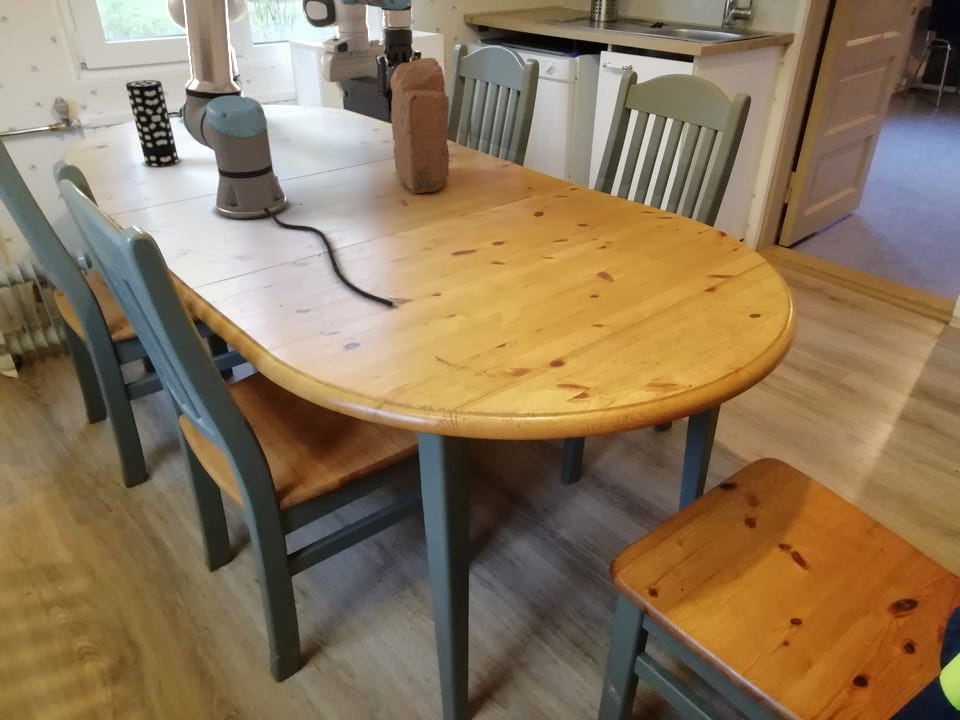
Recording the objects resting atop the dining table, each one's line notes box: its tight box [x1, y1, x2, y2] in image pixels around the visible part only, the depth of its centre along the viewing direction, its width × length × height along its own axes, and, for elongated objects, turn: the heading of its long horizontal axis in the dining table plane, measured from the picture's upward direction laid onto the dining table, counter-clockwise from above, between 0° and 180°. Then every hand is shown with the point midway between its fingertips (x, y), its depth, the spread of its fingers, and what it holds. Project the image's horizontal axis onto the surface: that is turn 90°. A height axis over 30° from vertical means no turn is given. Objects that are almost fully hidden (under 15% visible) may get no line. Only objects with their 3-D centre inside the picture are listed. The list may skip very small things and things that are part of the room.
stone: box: [390, 57, 450, 194], centre depth 168 cm, size 22×11×28 cm, turn 18°
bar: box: [342, 76, 392, 125], centre depth 192 cm, size 27×6×9 cm, turn 44°
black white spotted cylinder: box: [125, 79, 179, 167], centre depth 181 cm, size 8×8×20 cm
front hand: (401, 120), depth 188 cm, fingers closed on bar, 6 cm apart
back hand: (358, 94), depth 198 cm, fingers open, 8 cm apart
